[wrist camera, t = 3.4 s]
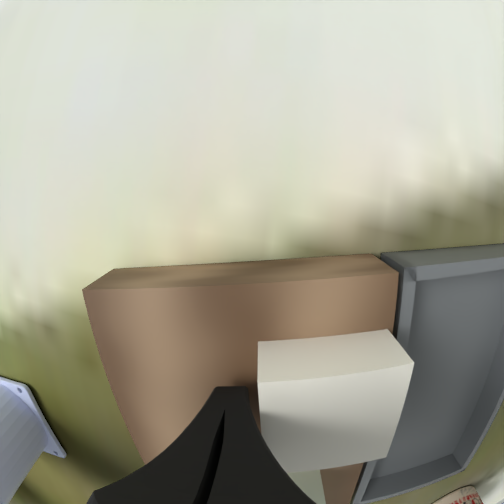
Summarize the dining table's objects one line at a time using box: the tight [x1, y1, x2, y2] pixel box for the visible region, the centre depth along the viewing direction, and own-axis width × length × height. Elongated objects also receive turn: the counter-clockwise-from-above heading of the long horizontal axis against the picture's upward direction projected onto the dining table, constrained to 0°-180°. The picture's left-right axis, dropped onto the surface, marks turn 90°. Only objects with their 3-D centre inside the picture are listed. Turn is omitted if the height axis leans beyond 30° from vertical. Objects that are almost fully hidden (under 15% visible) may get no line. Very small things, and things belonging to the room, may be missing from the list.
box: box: [350, 243, 504, 504], centre depth 14 cm, size 10×18×2 cm, turn 4°
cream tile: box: [257, 329, 414, 473], centre depth 10 cm, size 5×5×2 cm
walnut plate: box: [82, 254, 399, 504], centre depth 14 cm, size 12×18×3 cm, turn 4°
